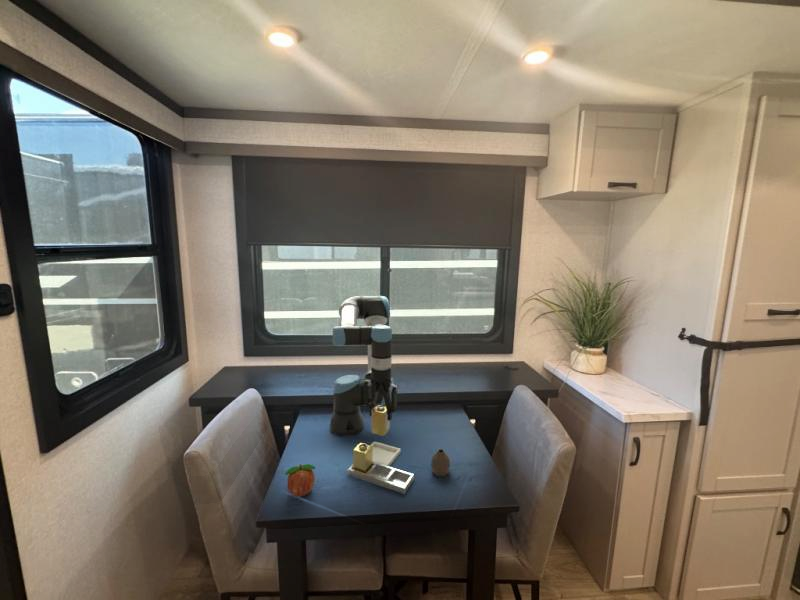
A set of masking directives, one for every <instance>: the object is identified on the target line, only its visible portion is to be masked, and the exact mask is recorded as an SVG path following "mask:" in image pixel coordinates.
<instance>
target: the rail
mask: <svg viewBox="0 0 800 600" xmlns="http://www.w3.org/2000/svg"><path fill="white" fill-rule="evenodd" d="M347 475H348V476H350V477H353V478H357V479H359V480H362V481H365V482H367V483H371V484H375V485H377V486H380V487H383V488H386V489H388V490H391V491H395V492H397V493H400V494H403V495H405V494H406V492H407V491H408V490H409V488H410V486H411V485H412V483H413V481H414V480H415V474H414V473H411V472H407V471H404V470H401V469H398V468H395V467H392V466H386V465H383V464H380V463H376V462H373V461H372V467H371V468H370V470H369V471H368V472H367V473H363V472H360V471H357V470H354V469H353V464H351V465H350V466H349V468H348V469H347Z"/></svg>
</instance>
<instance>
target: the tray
mask: <svg viewBox="0 0 800 600" xmlns="http://www.w3.org/2000/svg"><path fill="white" fill-rule="evenodd" d="M369 445H370V446H373V456H372V461H373V462H376V463H380V464H383V465H386V466H389V467H391V465H392V464H393V462H394V461H396V459H397V457H398V456H399V455H400V454H401V453H402V449H401V448H399V447H397V446H396V447H395V446H392V445H389V444H386V443H382V442H377V441H373V442H371V444H369Z"/></svg>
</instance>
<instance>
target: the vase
mask: <svg viewBox="0 0 800 600" xmlns="http://www.w3.org/2000/svg"><path fill="white" fill-rule="evenodd" d="M430 469H431V471H432V473H433V474H434V475H435V476H437V477H445V476H447V475H448V474H449V472H450V471H451V470H450V469H451V461H450V458H449V456H448V454H447V453H446V451H445V450H444V449H443V448H442V449H441V448H439V449H438V450H437V451H436V452H435V453H434V454H433V456H432V458H431V461H430Z"/></svg>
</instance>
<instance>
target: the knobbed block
mask: <svg viewBox="0 0 800 600" xmlns="http://www.w3.org/2000/svg"><path fill="white" fill-rule="evenodd" d="M374 407H375V408H374V409H373V410H372V416H371V433H372V434H375V435H378V436H383V437H384V436H385V435H386V434H387V433H388V432H389V431H390V427H389V428H388V429H385V412H386V411H387V409H386V406H385V405H382V406H380V405H376V406H374Z"/></svg>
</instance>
